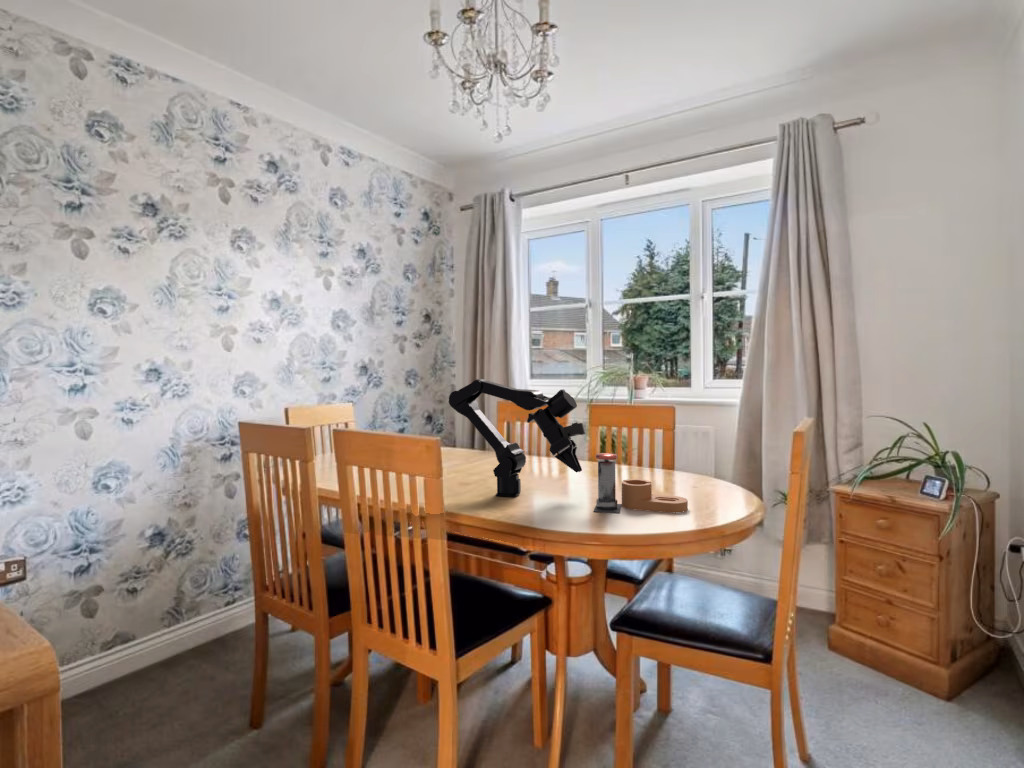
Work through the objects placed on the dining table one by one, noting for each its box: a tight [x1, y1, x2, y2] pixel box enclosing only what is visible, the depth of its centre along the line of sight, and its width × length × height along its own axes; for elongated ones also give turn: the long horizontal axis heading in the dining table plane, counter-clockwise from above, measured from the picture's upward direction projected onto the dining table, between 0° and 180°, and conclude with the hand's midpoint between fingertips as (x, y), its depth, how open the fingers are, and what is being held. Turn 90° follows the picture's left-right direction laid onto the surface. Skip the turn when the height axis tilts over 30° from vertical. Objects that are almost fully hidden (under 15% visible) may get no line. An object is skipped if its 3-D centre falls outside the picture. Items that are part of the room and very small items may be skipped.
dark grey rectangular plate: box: [593, 503, 622, 514], centre depth 158 cm, size 7×9×1 cm
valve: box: [595, 452, 619, 510], centre depth 158 cm, size 6×6×15 cm
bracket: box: [621, 478, 689, 514], centre depth 158 cm, size 18×8×7 cm, turn 69°
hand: (579, 471), depth 164 cm, fingers open, 9 cm apart
